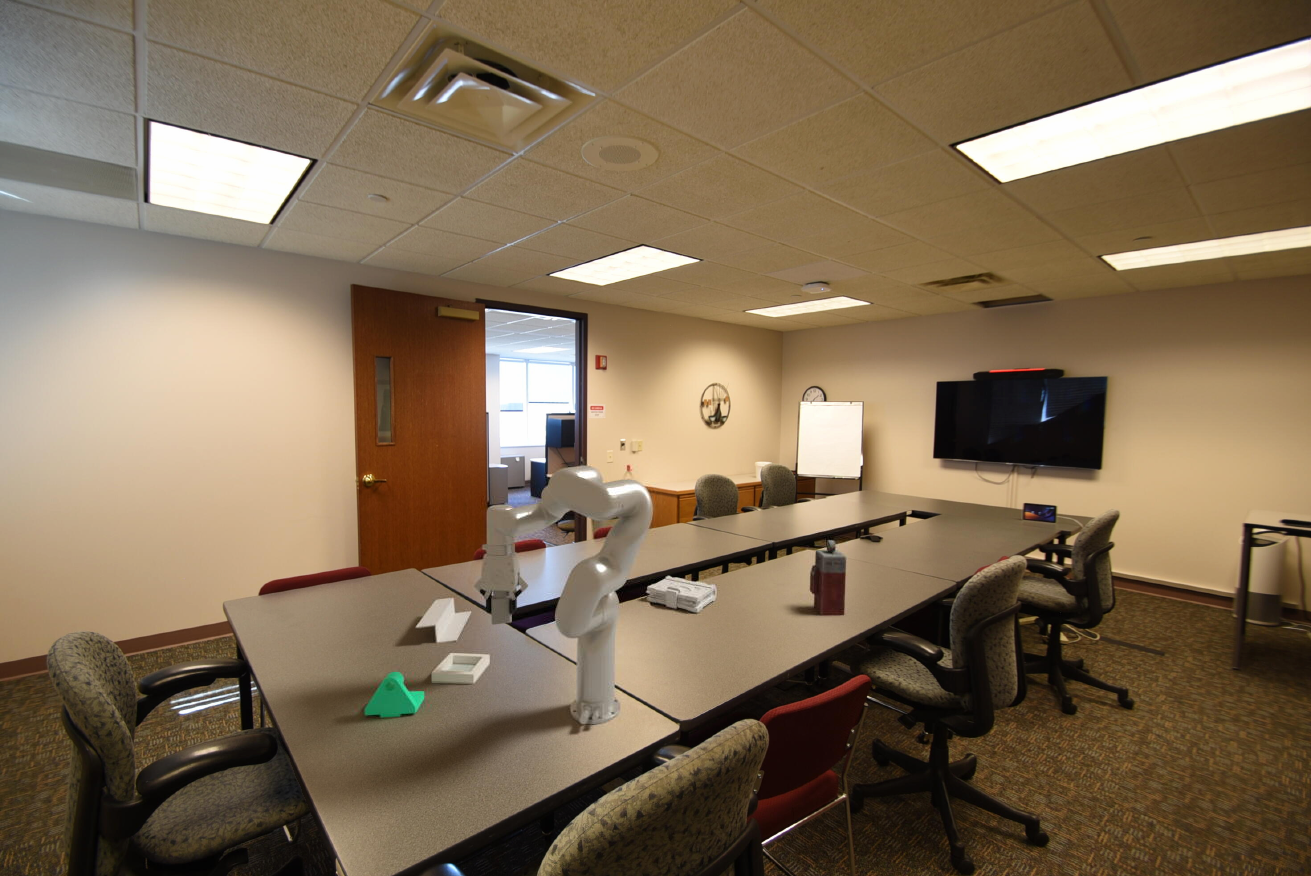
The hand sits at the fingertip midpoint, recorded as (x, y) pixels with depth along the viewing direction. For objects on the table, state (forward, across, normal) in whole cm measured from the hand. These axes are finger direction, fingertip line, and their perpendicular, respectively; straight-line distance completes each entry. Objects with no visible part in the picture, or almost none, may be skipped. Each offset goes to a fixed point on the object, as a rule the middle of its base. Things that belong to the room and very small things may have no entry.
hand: (501, 611), depth 152 cm
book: (+20, +48, +68) cm, 86 cm away
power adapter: (+3, 0, 0) cm, 3 cm away
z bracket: (+19, -31, +32) cm, 49 cm away
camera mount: (+20, -21, -18) cm, 34 cm away
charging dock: (+19, -12, +1) cm, 23 cm away
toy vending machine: (+20, +106, +59) cm, 123 cm away
